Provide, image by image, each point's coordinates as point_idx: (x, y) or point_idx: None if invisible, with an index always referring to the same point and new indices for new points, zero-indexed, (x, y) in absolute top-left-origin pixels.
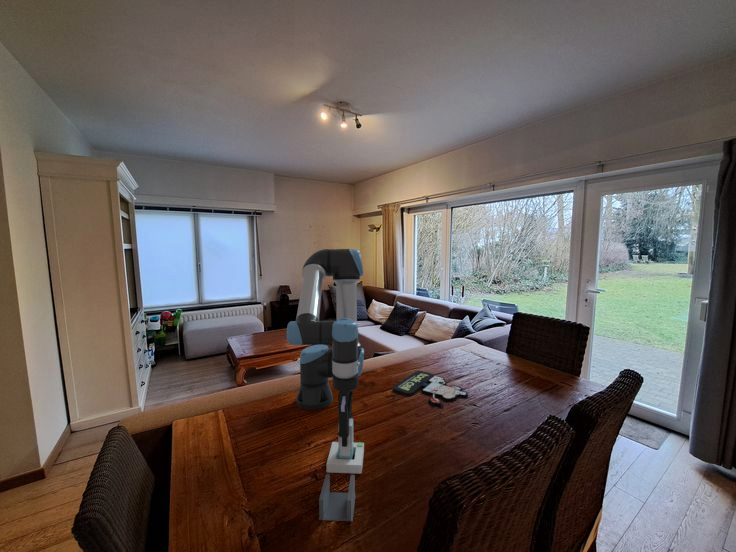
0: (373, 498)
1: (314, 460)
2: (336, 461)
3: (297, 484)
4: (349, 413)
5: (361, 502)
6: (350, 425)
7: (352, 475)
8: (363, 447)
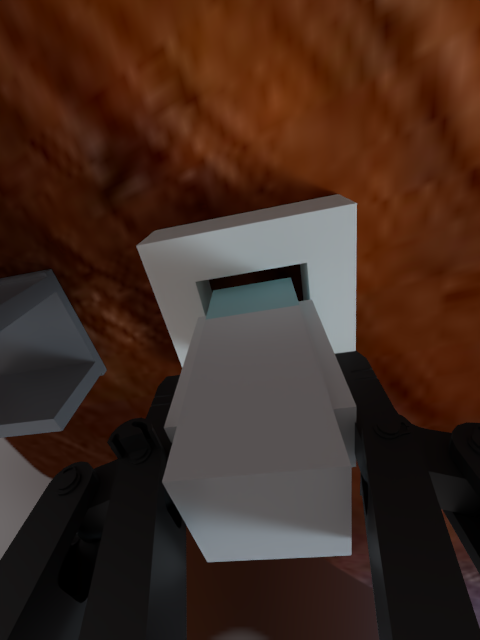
0: (123, 413)
1: (232, 102)
2: (177, 293)
3: (16, 88)
4: (377, 623)
5: (91, 388)
6: (215, 554)
7: (54, 424)
8: None
